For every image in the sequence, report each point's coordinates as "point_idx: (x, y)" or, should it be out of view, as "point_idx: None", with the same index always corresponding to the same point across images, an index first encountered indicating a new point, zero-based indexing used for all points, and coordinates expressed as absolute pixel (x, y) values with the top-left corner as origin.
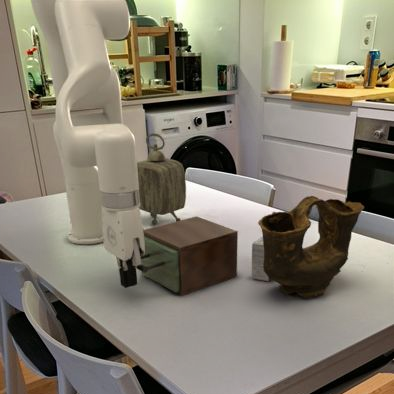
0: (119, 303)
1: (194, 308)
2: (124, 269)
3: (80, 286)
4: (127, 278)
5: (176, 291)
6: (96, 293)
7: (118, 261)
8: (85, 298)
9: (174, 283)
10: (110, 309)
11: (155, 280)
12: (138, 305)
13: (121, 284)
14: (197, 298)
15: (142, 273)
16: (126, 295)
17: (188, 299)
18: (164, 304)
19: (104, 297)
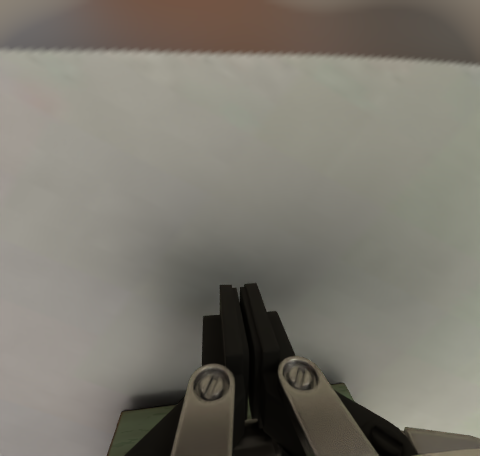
0: (195, 220)
1: (3, 406)
2: (220, 372)
3: (447, 163)
4: (214, 331)
5: (122, 417)
6: (342, 186)
7: (310, 401)
8: (335, 123)
9: (115, 451)
10: (163, 162)
11: None
12: (133, 271)
13: (248, 285)
14: (76, 437)
15: (338, 385)
16: (244, 273)
17: (84, 415)
18: (88, 346)
19: (286, 196)
